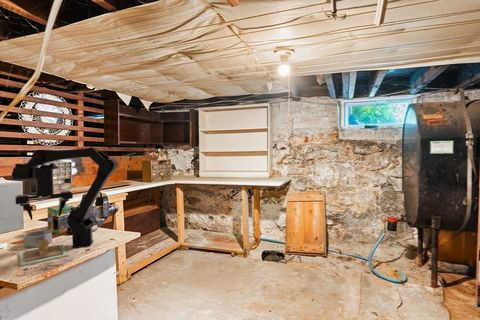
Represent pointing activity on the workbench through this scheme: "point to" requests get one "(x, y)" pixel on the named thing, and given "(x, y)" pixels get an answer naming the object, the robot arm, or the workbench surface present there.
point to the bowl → (37, 238)
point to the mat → (24, 263)
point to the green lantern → (54, 212)
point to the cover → (43, 251)
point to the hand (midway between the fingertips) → (45, 217)
